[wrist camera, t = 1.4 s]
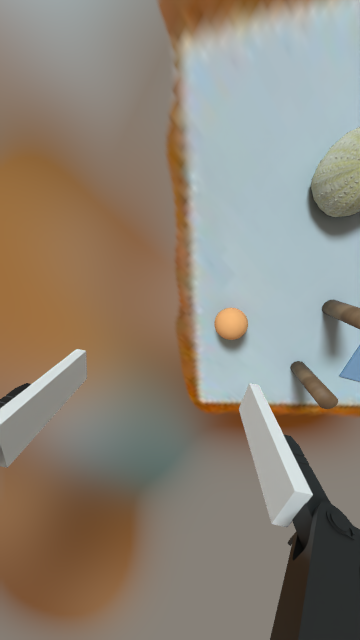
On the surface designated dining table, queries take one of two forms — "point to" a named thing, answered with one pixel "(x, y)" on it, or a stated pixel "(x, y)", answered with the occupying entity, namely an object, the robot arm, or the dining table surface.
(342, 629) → the robot arm
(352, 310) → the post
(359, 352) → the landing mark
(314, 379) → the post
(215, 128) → the dining table surface
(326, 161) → the sea urchin shell
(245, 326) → the ball
